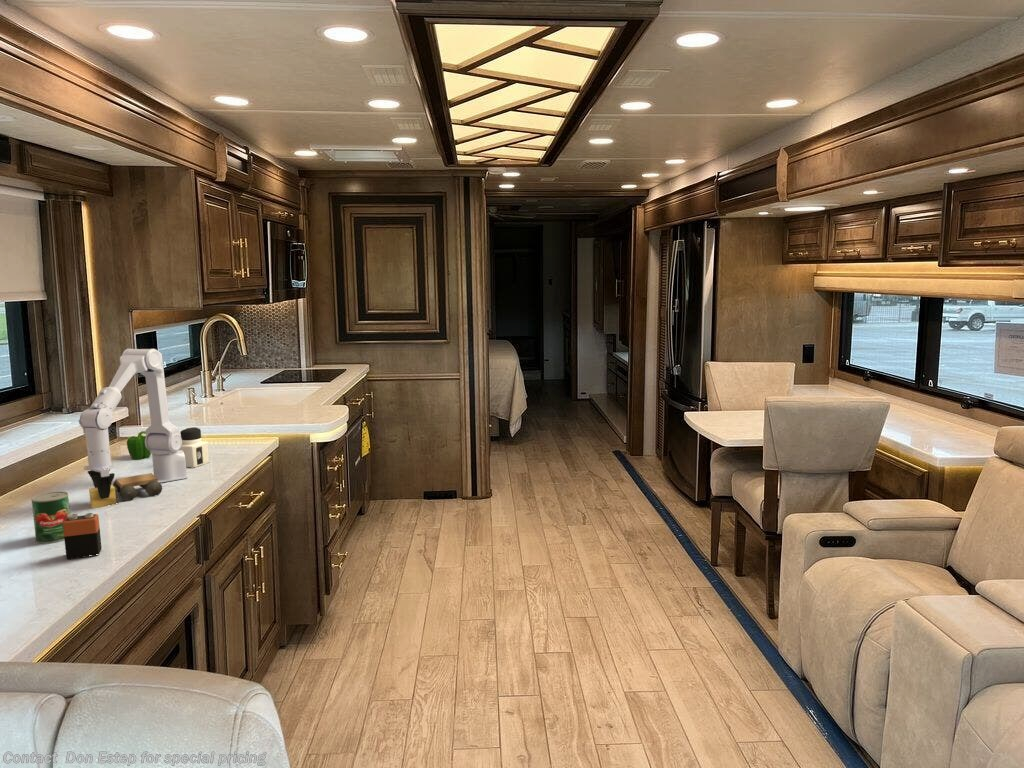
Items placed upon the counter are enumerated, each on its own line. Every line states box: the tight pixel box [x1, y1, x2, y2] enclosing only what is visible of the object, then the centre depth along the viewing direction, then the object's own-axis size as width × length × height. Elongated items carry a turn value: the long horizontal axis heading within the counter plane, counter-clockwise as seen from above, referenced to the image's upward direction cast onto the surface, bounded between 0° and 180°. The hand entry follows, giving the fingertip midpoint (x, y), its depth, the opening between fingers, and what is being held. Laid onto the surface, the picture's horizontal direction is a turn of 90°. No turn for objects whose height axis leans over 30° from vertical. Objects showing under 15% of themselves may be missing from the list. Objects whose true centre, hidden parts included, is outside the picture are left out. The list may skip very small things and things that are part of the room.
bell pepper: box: [126, 430, 152, 460], centre depth 266 cm, size 8×8×10 cm
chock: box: [88, 484, 119, 509], centre depth 212 cm, size 7×4×5 cm, turn 128°
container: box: [179, 427, 210, 469], centre depth 255 cm, size 8×8×13 cm
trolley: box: [112, 472, 163, 502], centre depth 222 cm, size 11×11×5 cm
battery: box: [63, 512, 102, 560], centre depth 173 cm, size 4×7×10 cm, turn 111°
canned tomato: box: [30, 491, 71, 544], centre depth 184 cm, size 8×8×11 cm
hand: (103, 495), depth 212 cm, fingers open, 5 cm apart
